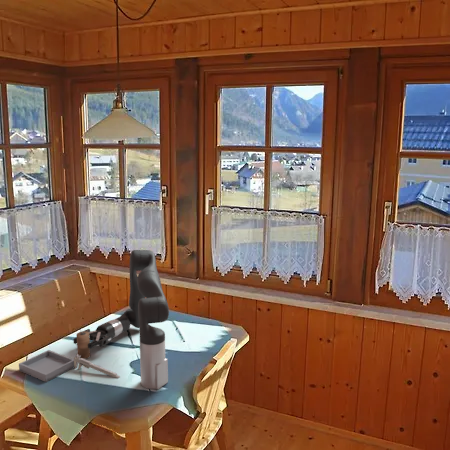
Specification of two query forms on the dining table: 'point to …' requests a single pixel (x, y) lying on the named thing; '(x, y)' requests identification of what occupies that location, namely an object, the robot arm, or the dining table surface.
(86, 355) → the cylinder
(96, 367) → the caliper
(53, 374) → the tray
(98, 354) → the dining table surface
